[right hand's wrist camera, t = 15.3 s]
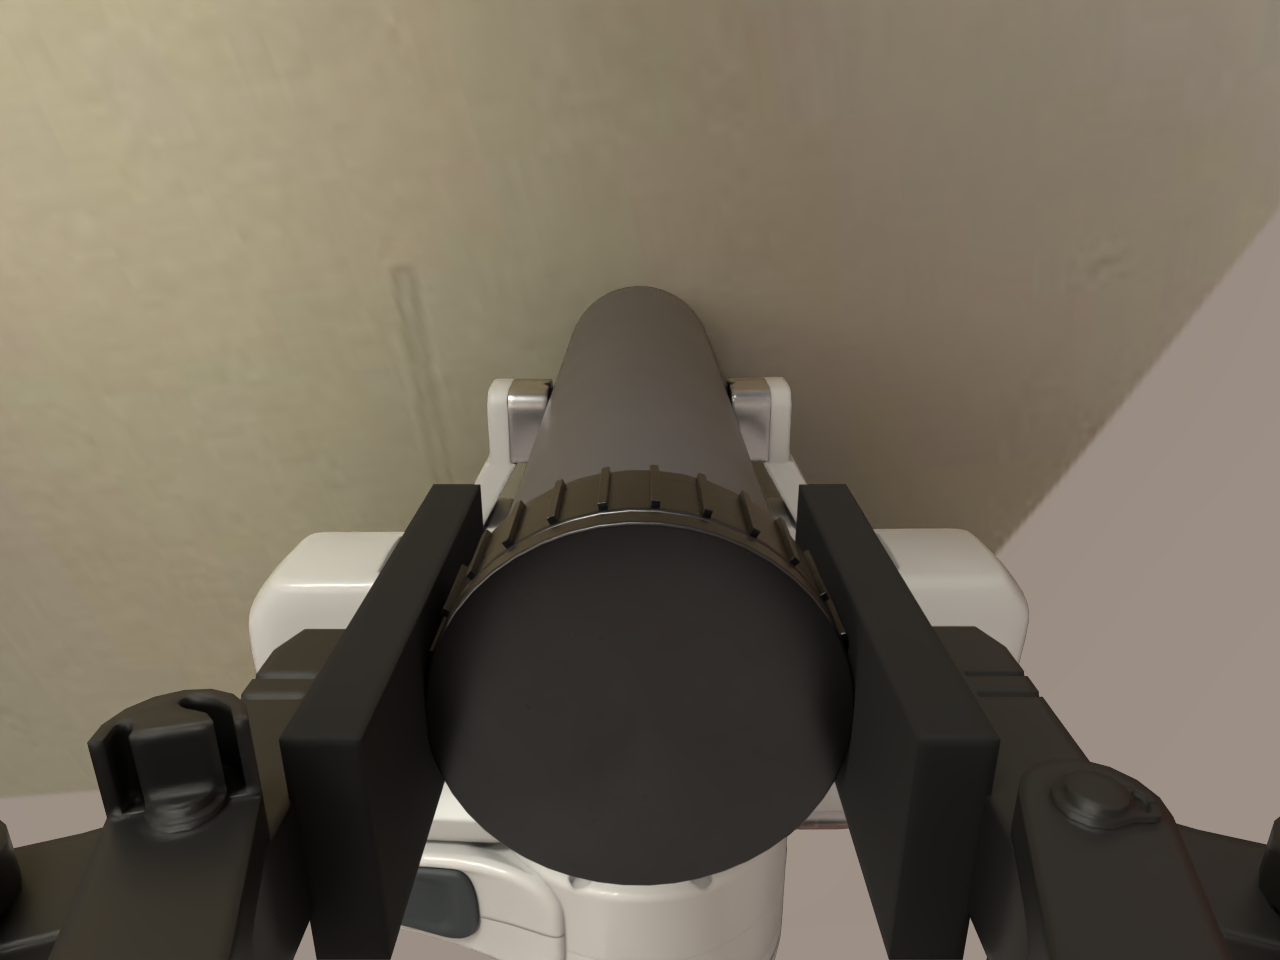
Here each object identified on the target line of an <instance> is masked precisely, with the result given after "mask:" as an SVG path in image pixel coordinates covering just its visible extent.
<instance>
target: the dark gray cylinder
mask: <svg viewBox="0 0 1280 960" xmlns="http://www.w3.org/2000/svg"><path fill="white" fill-rule="evenodd" d="M650 465H658V466H659V471H664V472H671V473H678V474H684V475H688V476H692V477H695V478H696V477H697V474H698V473H702V474H705V475H706V478H707V481H709V482H712V483H714V484H717V485H719V486H722V487H724V488H726V489H729V490H731V491H733V492H735V493H737V494H740V493H741V491H742V490H743V491H745V492H747V493H749V495H750V499H751V502H752V503H754V504H756V505H757V506H758V507H759V508H761V509H762V510H763V511H765V512H766V513H767V514H769V515H770V513H769V510H768V507H767V504H766V502H765V499H764V496H763V493H762V490H761V487H760V485H759V482H758V479H757V476H756V473H755V471H754V468H753V465H752V462H751V459H750V456H749V454H748V451H747V448H746V445H745V442H744V439H743V437H742V434H741V431H740V428H739V425H738V423H737V420H736V417H735V414H734V411H733V408H732V406H731V403H730V400H729V397H728V394H727V391H726V389H725V386H724V383H723V380H722V377H721V375H720V372H719V369H718V366H717V363H716V360H715V358H714V355H713V352H712V349H711V346H710V343H709V341H708V338H707V335H706V332H705V330H704V327H703V325H702V323H701V321H700V320H699V318H698V317H697V315H696V314H695V313H694V311H693V310H692V309H691V308H690V307H689V306H688V305H687V304H686V303H684V302H683V301H682V300H681V299H679V298H677V297H676V296H674V295H673V294H670V293H668V292H666V291H663V290H660V289H657V288H652V287H641V286H635V287H627V288H623V289H619V290H616V291H613V292H611V293H608V294H607V295H605V296H603V297H601V298H600V299H598V300H597V301H596V302H594V303H593V304H592V305H591V306H590V307H589V308H588V309H587V310H586V311H585V313H584V314H583V315H582V316H581V318H580V320H579V321H578V323H577V325H576V327H575V329H574V332H573V334H572V337H571V340H570V343H569V346H568V348H567V351H566V354H565V357H564V360H563V363H562V365H561V368H560V371H559V374H558V377H557V380H556V382H555V385H554V388H553V391H552V394H551V397H550V400H549V402H548V405H547V408H546V411H545V414H544V417H543V419H542V422H541V425H540V428H539V431H538V434H537V436H536V439H535V442H534V445H533V448H532V451H531V453H530V456H529V459H528V462H527V465H526V468H525V470H524V473H523V476H522V479H521V482H520V485H519V487H518V490H517V493H516V496H515V499H514V502H513V504H512V507H511V510H510V513H509V515H510V514H512V511H513V508H514V505H515V504H516V503H517V502H518V501H520V500H522V502H523V503H524V504H526V503H527V502H529V501H530V500H532V499H533V498H535V497H537V496H539V495H541V494H543V493H545V492H547V491H549V490H551V489H552V488H554V485H555V481H557V480H560V479H563V480H564V482H565V483H568V482H571V481H574V480H576V479H579V478H584V477H588V476H592V475H597V474H601V468H604V467H610V471H611V472H616V471H625V470H650Z"/></svg>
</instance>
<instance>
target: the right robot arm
mask: <svg viewBox="0 0 1280 960" xmlns="http://www.w3.org/2000/svg"><path fill="white" fill-rule="evenodd" d="M483 533H484V529H483V514H482V500H481V485H480V484H433V486H432V488H431V489H430V491H429V493H428V494H427V496H426V498H425V499H424V501H423V503H422V504H421V506H420V508H419V509H418V511H417V512H416V514H415V516H414V517H413V519H412V521H411V522H410V524H409V526H408V527H407V529H406V531H405V532H404V534H403V536H402V537H401V539H400V540H399V542H398V544H397V545H396V547H395V549H394V550H393V552H392V554H391V555H390V557H389V559H388V560H387V562H386V564H385V565H384V567H383V568H382V570H381V572H380V573H379V575H378V577H377V578H376V580H375V582H374V583H373V585H372V587H371V588H370V590H369V592H368V593H367V595H366V597H365V598H364V600H363V601H362V603H361V605H360V606H359V608H358V610H357V611H356V613H355V615H354V616H353V618H352V620H351V621H350V623H349V625H348V626H347V628H346V629H304V630H302V631H301V632H299V633H298V634H296V635H295V636H294V637H292V638H291V639H289V640H288V641H286V642H285V643H283V644H282V645H280V646H279V647H277V648H276V649H274V650H273V652H272V653H271V654H270V656H269V657H268V658H267V660H266V661H265V663H264V664H263V665H262V667H261V668H260V670H259V671H258V672H257V674H256V679H252V681H251V682H250V683H249V685H248V686H247V687H246V689H245V690H244V692H243V693H242V694H241V700H240V699H239V698H238V697H236V696H235V695H234V694H231V693H227V692H222V691H218V690H214V689H199V690H182V691H178V692H174V693H169V694H165V695H160V696H156V697H153V698H151V699H148V700H146V701H143V702H141V703H139V704H136V705H134V706H131V707H129V708H127V709H125V710H123V711H122V712H120V713H119V714H117V715H116V716H114V717H113V718H111V719H110V720H108V721H107V722H105V723H104V724H103V725H101V727H100V728H99V729H98V730H97V731H96V733H95V734H94V735H93V736H92V738H91V739H90V740H89V741H88V742H87V744H88V748H89V752H90V755H91V759H92V763H93V767H94V770H95V774H96V778H97V782H98V785H99V789H100V793H101V797H102V800H103V804H104V808H105V812H106V816H107V819H106V822H105V824H104V826H103V828H99V829H96V830H92V831H89V832H85V833H82V834H77V835H73V836H68V837H64V838H59V839H54V840H50V841H45V842H41V843H36V844H32V845H27V846H23V847H18V848H13V845H12V842H11V839H10V836H9V833H8V830H7V826H6V824H4V823H3V822H2V821H1V820H0V960H293V959H294V956H295V954H296V951H297V949H298V947H299V944H300V942H301V940H302V937H303V935H304V932H305V930H306V928H307V926H308V923H309V921H310V923H311V929H312V935H313V941H314V946H315V952H316V958H317V960H390V959H391V956H392V953H393V950H394V946H395V943H396V940H397V936H398V933H399V930H400V927H401V923H402V920H403V917H404V914H405V910H406V907H407V904H408V901H409V897H410V894H411V891H412V887H413V884H414V881H415V878H416V874H417V871H418V868H419V865H420V861H421V858H422V855H423V851H424V848H425V845H426V842H427V838H428V835H429V832H430V829H431V825H432V822H433V819H434V815H435V812H436V809H437V806H438V802H439V799H440V796H441V793H442V789H443V786H444V783H445V780H444V779H443V777H442V775H441V773H440V771H439V769H438V766H437V764H436V761H435V759H434V756H433V754H432V751H431V747H430V743H429V738H428V731H427V721H426V711H425V681H426V675H427V671H428V667H429V663H430V658H431V656H430V649H431V646H432V644H433V641H434V639H435V637H436V634H437V632H438V629H439V627H440V625H441V622H442V620H443V617H444V616H442V615H441V612H442V609H443V607H444V605H445V602H446V600H447V598H448V595H449V593H450V590H451V588H452V586H453V583H454V581H455V579H456V576H457V574H458V572H459V569H460V567H461V565H462V564H463V565H465V566H467V567H468V565H469V564H470V562H471V560H472V558H473V556H474V553H475V551H476V548H477V546H478V543H479V541H480V538H481V536H482V534H483ZM795 542H796V543H797V545H798V546H799V547H800V549H801V550H802V551H803V552H804V551H806V550H809V551H810V552H811V554H812V556H813V558H814V561H815V563H816V565H817V568H818V570H819V573H820V575H821V577H822V580H823V582H824V584H825V587H827V588H828V591H829V593H830V595H831V598H832V600H833V602H834V605H835V607H836V609H837V612H838V614H839V617H840V619H841V621H842V624H843V626H844V628H845V631H846V633H847V636H848V640H845V641H843V643H844V646H845V649H846V651H847V654H848V657H849V660H850V663H851V669H852V674H853V679H854V684H855V703H854V714H853V724H852V734H851V740H850V744H849V748H848V751H847V755H846V758H845V760H844V762H843V765H842V767H841V769H840V771H839V773H838V776H837V778H836V780H835V784H836V788H837V791H838V794H839V798H840V801H841V804H842V807H843V811H844V814H845V817H846V820H847V824H848V827H849V830H850V834H851V837H852V840H853V843H854V846H855V850H856V853H857V856H858V859H859V863H860V866H861V870H862V873H863V876H864V879H865V883H866V886H867V889H868V892H869V896H870V899H871V902H872V906H873V909H874V912H875V915H876V918H877V922H878V925H879V928H880V932H881V935H882V938H883V941H884V945H885V948H886V951H887V954H888V958H889V960H963V955H964V949H965V943H966V937H967V932H968V926H969V920H970V918H971V920H972V922H973V925H974V927H975V930H976V932H977V934H978V937H979V939H980V941H981V944H982V946H983V948H984V951H985V953H986V955H987V960H1280V817H1279V818H1278V819H1276V820H1275V821H1274V824H1273V827H1272V830H1271V834H1270V837H1269V840H1268V843H1267V845H1266V844H1261V843H1256V842H1252V841H1247V840H1243V839H1238V838H1234V837H1229V836H1224V835H1220V834H1215V833H1211V832H1206V831H1201V830H1197V829H1194V828H1190V827H1187V826H1183V825H1180V824H1176V822H1175V820H1174V818H1173V816H1172V814H1171V813H1170V812H1169V810H1168V809H1167V807H1166V806H1165V804H1164V803H1163V802H1162V800H1161V799H1160V797H1158V796H1157V795H1156V794H1154V793H1153V792H1152V791H1151V790H1149V789H1148V788H1147V787H1145V786H1144V785H1143V784H1142V783H1140V782H1139V781H1138V780H1136V779H1134V778H1132V777H1130V776H1128V775H1125V774H1123V773H1121V772H1119V771H1117V770H1115V769H1113V768H1111V767H1108V766H1104V765H1100V764H1096V763H1093V762H1090V761H1089V760H1088V759H1087V757H1086V756H1085V754H1084V753H1083V752H1082V750H1081V749H1080V748H1079V746H1078V745H1077V743H1076V742H1075V741H1074V739H1073V738H1072V737H1071V735H1070V734H1069V732H1068V731H1067V730H1066V728H1065V727H1064V726H1063V724H1062V723H1061V721H1060V720H1059V719H1058V717H1057V716H1056V715H1055V713H1054V712H1053V711H1052V709H1051V708H1050V706H1049V705H1048V704H1047V702H1046V701H1045V700H1044V698H1043V697H1039V691H1038V690H1037V689H1036V687H1035V686H1034V684H1033V683H1032V682H1031V680H1030V679H1029V678H1028V676H1024V671H1023V669H1022V668H1021V667H1020V665H1019V664H1018V663H1017V661H1016V660H1015V658H1014V657H1013V656H1012V654H1011V653H1010V652H1009V650H1008V649H1007V647H1005V646H1004V645H1002V644H1001V643H999V642H998V641H996V640H995V639H993V638H992V637H991V636H989V635H988V634H986V633H985V632H983V631H982V630H980V629H979V628H977V627H976V626H932V625H931V624H930V622H929V621H928V619H927V617H926V616H925V614H924V612H923V611H922V609H921V607H920V606H919V604H918V602H917V601H916V599H915V597H914V596H913V594H912V593H911V591H910V589H909V588H908V586H907V584H906V583H905V581H904V579H903V578H902V576H901V574H900V573H899V571H898V569H897V568H896V566H895V565H894V563H893V561H892V560H891V558H890V556H889V555H888V553H887V551H886V550H885V548H884V546H883V545H882V543H881V541H880V540H879V538H878V536H877V535H876V533H875V532H874V530H873V528H872V527H871V525H870V523H869V522H868V520H867V518H866V517H865V515H864V513H863V512H862V510H861V508H860V507H859V505H858V504H857V502H856V500H855V499H854V497H853V495H852V494H851V492H850V490H849V489H848V487H847V485H846V484H799V491H798V506H797V521H796V535H795Z"/></svg>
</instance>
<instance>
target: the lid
mask: <svg viewBox="0 0 1280 960" xmlns="http://www.w3.org/2000/svg"><path fill="white" fill-rule="evenodd" d="M441 615H442V616H444V617H443V620H442V622H441V625H440V627H439V629H438V632H437V634H436V637H435V639H434V641H433V644H432V646H431V649H430V656H431V658H430V663H429V667H428V671H427V675H426V681H425V711H426V721H427V731H428V738H429V743H430V747H431V751H432V754H433V756H434V759H435V761H436V764H437V766H438V769H439V771H440V773H441V775H442V777H443V779H444V780H445V782H446V784H447V786H448V787H449V789H450V791H451V793H452V794H453V795H454V797H455V798H456V799H457V801H458V802H459V803H460V804H461V806H462V807H463V808H464V810H465V811H466V812H467V813H468V814H469V815H470V816H471V817H472V818H473V819H474V820H475V821H476V822H477V823H478V824H479V825H480V826H481V827H482V828H483V829H484V830H485V831H486V832H487V833H489V834H490V835H491V836H493V837H494V838H495V839H496V840H498V841H499V842H500V843H502V844H503V845H504V846H506V847H508V848H509V849H511V850H513V851H514V852H516V853H518V854H519V855H521V856H523V857H524V858H526V859H528V860H530V861H533V862H535V863H537V864H539V865H541V866H543V867H546V868H548V869H551V870H554V871H557V872H560V873H563V874H566V875H569V876H572V877H576V878H580V879H585V880H589V881H594V882H599V883H607V884H616V885H636V886H651V885H662V884H674V883H680V882H685V881H690V880H695V879H700V878H704V877H707V876H710V875H713V874H717V873H720V872H723V871H726V870H728V869H731V868H733V867H736V866H738V865H740V864H743V863H745V862H747V861H749V860H751V859H753V858H755V857H756V856H758V855H760V854H762V853H763V852H765V851H767V850H769V849H770V848H772V847H773V846H775V845H776V844H777V843H779V842H780V841H781V840H783V839H784V838H786V837H787V836H788V835H790V834H791V833H792V832H793V831H794V830H795V829H796V828H797V827H798V826H799V825H801V824H802V823H803V822H804V821H805V820H806V819H807V818H808V817H809V816H810V815H811V813H812V812H813V811H814V810H815V809H816V807H817V806H818V805H819V804H820V803H821V801H822V800H823V799H824V797H825V796H826V794H827V793H828V791H829V789H830V788H831V786H832V785H833V783H834V781H835V780H836V778H837V776H838V773H839V771H840V769H841V767H842V765H843V762H844V760H845V758H846V755H847V751H848V748H849V744H850V740H851V734H852V724H853V714H854V703H855V684H854V679H853V674H852V669H851V663H850V660H849V657H848V654H847V651H846V649H845V646H844V643H843V641H845V640H848V636H847V633H846V631H845V628H844V626H843V624H842V621H841V619H840V617H839V614H838V612H837V609H836V607H835V605H834V602H833V600H832V598H831V595H830V593H829V591H828V588H827V587H825V584H824V582H823V580H822V577H821V575H820V573H819V570H818V568H817V565H816V563H815V561H814V558H813V556H812V554H811V552H810V551H809V550H806V551H804V552H803V551H802V550H801V549H800V547H799V546H798V545H797V543H796V542H795V541H794V539H793V538H792V537H791V535H790V533H789V530H788V528H787V525H786V522H785V521H784V520H783V519H782V518H781V517H778V518H777V519H776V520H775V519H774V518H772V517H771V516H770V515H769V514H767V513H766V512H765V511H763V510H762V509H761V508H759V507H758V506H757V505H756V504H754V503H752V502H751V499H750V495H749V493H747V492H745V491H743V490H742V491H741V493H740V494H737V493H735V492H733V491H731V490H729V489H726V488H724V487H722V486H719V485H717V484H714V483H712V482H709V481H707V478H706V475H705V474H702V473H698V474H697V477H696V478H695V477H692V476H688V475H684V474H678V473H671V472H664V471H659V466H658V465H650V470H625V471H616V472H611V471H610V467H604V468H601V474H597V475H592V476H588V477H584V478H579V479H576V480H574V481H571V482H568V483H565V482H564V480H563V479H560V480H557V481H555V485H554V488H552V489H551V490H549V491H547V492H545V493H543V494H541V495H539V496H537V497H535V498H533V499H532V500H530V501H529V502H527V503H526V504H524V503H523V502H522V500H520V501H518V502H517V503H516V504H515V505H514V508H513V511H512V514H510V515H509V516H508V517H507V518H506V519H505V520H504V521H503V522H502V523H501V524H500V525H499V526H498V527H496V528H495V529H494V530H493V531H492V533H491V532H490V531H489V530H487V529H486V530H485V532H484V533H483V534H482V536H481V538H480V541H479V543H478V546H477V548H476V551H475V553H474V556H473V558H472V560H471V562H470V564H469V565H468V567H467V566H465V565H463V564H462V565H461V567H460V569H459V572H458V574H457V576H456V579H455V581H454V583H453V586H452V588H451V590H450V593H449V595H448V598H447V600H446V602H445V605H444V607H443V609H442V612H441Z"/></svg>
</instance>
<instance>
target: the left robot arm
mask: <svg viewBox="0 0 1280 960" xmlns="http://www.w3.org/2000/svg"><path fill="white" fill-rule="evenodd" d="M725 389H726V391H727V394H728V397H729V400H730V403H731V406H732V408H733V411H734V414H735V417H736V420H737V423H738V425H739V428H740V431H741V434H742V437H743V439H744V442H745V445H746V448H747V451H748V454H749V456H750V459H751V461H762V462H763V465H764V466H765V468H766V470H767V472H768V473H769V475H770V477H771V479H772V481H773V482H774V484H775V486H776V488H777V490H778V491H779V493H780V495H781V497H782V498H783V499H782V498H781V497H768V498H767V499H765V502H766V504H767V507H768V510H769V513H770V516H771V517H772V518H774V519H775V520H776V519H777V518H778V517H781V518H782V519H783V520H784V521H785V522H786V525H787V528H788V530H789V533H790V535H791V537H792V538H793V539H794V541H795V535H796V521H797V506H798V491H799V484H807V482H806V480H805V479H804V477H803V475H802V473H801V471H800V470H799V468H798V466H797V464H796V462H795V460H794V459H793V457H792V455H791V453H790V451H789V447H790V428H791V410H792V401H791V391H790V387H789V385H788V384H787V382H786V380H785V379H784V377H741V378H727V380H726V388H725ZM552 391H553V382H552V379H514V378H509V379H495V380H494V382H493V383H492V385H491V387H490V388H489V391H488V403H487V414H488V429H489V443H490V454H489V456H488V458H487V460H486V462H485V464H484V466H483V468H482V470H481V471H480V473H479V475H478V477H477V479H476V481H475V483H474V484H480V485H481V500H482V514H483V529H484V532H485V530H486V529H487V530H489V531H490V532H491V533H492V531H493V530H494V529H495V528H496V527H498V526H499V525H500V524H501V523H502V522H503V521H504V520H505V519H506V518H507V517H508V516H509V513H510V510H511V507H512V504H513V502H514V500H513V499H499V500H498V498H499V496H500V494H501V492H502V490H503V489H504V487H505V485H506V483H507V481H508V479H509V477H510V476H511V474H512V472H513V470H514V468H515V466H516V464H517V463H527V462H528V459H529V456H530V453H531V451H532V448H533V445H534V442H535V439H536V436H537V434H538V431H539V428H540V425H541V422H542V419H543V417H544V414H545V411H546V408H547V405H548V402H549V400H550V397H551V394H552ZM497 500H498V501H497ZM873 530H874V532H875V533H876V535H877V536H878V538H879V540H880V541H881V543H882V545H883V546H884V548H885V550H886V551H887V553H888V555H889V556H890V558H891V560H892V561H893V563H894V565H895V566H896V568H897V569H898V571H899V573H900V574H901V576H902V578H903V579H904V581H905V583H906V584H907V586H908V588H909V589H910V591H911V593H912V594H913V596H914V597H915V599H916V601H917V602H918V604H919V606H920V607H921V609H922V611H923V612H924V614H925V616H926V617H927V619H928V621H929V622H930V624H931V625H932V626H976V627H977V628H979V629H980V630H982V631H983V632H985V633H986V634H988V635H989V636H991V637H992V638H993V639H995V640H996V641H998V642H999V643H1001V644H1002V645H1004V646H1005V647H1007V649H1008V650H1009V652H1010V653H1011V654H1012V656H1013V657H1014V658H1015V660H1016V661H1017V663H1018V664H1019V661H1020V658H1021V654H1022V650H1023V645H1024V641H1025V637H1026V632H1027V627H1028V620H1029V610H1028V604H1027V601H1026V599H1025V596H1024V594H1023V592H1022V590H1021V589H1020V587H1019V586H1018V584H1017V582H1016V581H1015V579H1014V578H1013V577H1012V575H1011V574H1010V573H1009V571H1008V570H1007V569H1006V567H1005V566H1004V565H1003V564H1002V562H1001V561H1000V560H999V559H998V558H997V557H996V556H995V555H994V554H993V553H992V552H991V551H990V550H989V549H988V548H987V547H986V546H985V545H984V544H983V543H982V542H981V541H980V540H979V539H978V538H977V537H976V536H975V535H973V534H972V533H970V532H968V531H966V530H963V529H953V528H932V529H873ZM403 534H404V532H320V533H314V534H311V535H309V536H308V537H306V538H305V539H303V540H302V541H301V542H300V543H299V544H298V545H297V546H296V547H295V548H294V549H293V550H292V551H291V552H290V553H289V554H288V555H287V556H286V557H285V558H284V560H283V561H282V562H281V563H280V564H279V565H278V566H277V567H276V568H275V570H274V571H273V572H272V574H271V575H270V576H269V577H268V579H267V580H266V582H265V583H264V584H263V586H262V587H261V589H260V590H259V592H258V594H257V596H256V597H255V599H254V602H253V604H252V607H251V610H250V615H249V635H250V643H251V649H252V654H253V659H254V664H255V669H256V674H257V672H258V671H259V670H260V668H261V667H262V665H263V664H264V663H265V661H266V660H267V658H268V657H269V656H270V654H271V653H272V652H273V650H274V649H276V648H277V647H279V646H280V645H282V644H283V643H285V642H286V641H288V640H289V639H291V638H292V637H294V636H295V635H296V634H298V633H299V632H301V631H302V630H304V629H346V628H347V626H348V625H349V623H350V621H351V620H352V618H353V616H354V615H355V613H356V611H357V610H358V608H359V606H360V605H361V603H362V601H363V600H364V598H365V597H366V595H367V593H368V592H369V590H370V588H371V587H372V585H373V583H374V582H375V580H376V578H377V577H378V575H379V573H380V572H381V570H382V568H383V567H384V565H385V564H386V562H387V560H388V559H389V557H390V555H391V554H392V552H393V550H394V549H395V547H396V545H397V544H398V542H399V540H400V539H401V537H402V536H403ZM846 828H849V827H848V824H847V820H846V817H845V814H844V811H843V807H842V804H841V801H840V798H839V794H838V791H837V788H836V784H835V781H834V783H833V785H832V786H831V788H830V789H829V791H828V793H827V794H826V796H825V797H824V799H823V800H822V801H821V803H820V804H819V805H818V806H817V807H816V809H815V810H814V811H813V812H812V813H811V815H810V816H809V817H808V818H807V819H806V820H805V821H804V822H803V823H802V824H801V825H799V826H798V827H797V828H796V829H846ZM786 853H787V837H786V838H784V839H783V840H781V841H780V842H779V843H777V844H776V845H775V846H773V847H772V848H770V849H769V850H767V851H765V852H763V853H762V854H760V855H758V856H756V857H755V858H753V859H751V860H749V861H747V862H745V863H743V864H740V865H738V866H736V867H733V868H731V869H728V870H726V871H723V872H720V873H717V874H713V875H710V876H707V877H704V878H700V879H695V880H690V881H685V882H680V883H674V884H662V885H651V886H636V885H616V884H607V883H599V882H594V881H589V880H585V879H580V878H576V877H572V876H569V875H566V874H563V873H560V872H557V871H554V870H551V869H548V868H546V867H543V866H541V865H539V864H537V863H535V862H533V861H530V860H528V859H526V858H524V857H523V856H521V855H519V854H518V853H516V852H514V851H513V850H511V849H509V848H508V847H506V846H504V845H503V844H502V843H500V842H499V841H498V840H496V839H495V838H494V837H493V836H491V835H490V834H489V833H487V832H486V831H485V830H484V829H483V828H482V827H481V826H480V825H479V824H478V823H477V822H476V821H475V820H474V819H473V818H472V817H471V816H470V815H469V814H468V813H467V812H466V811H465V810H464V808H463V807H462V806H461V804H460V803H459V802H458V801H457V799H456V798H455V797H454V795H453V794H452V793H451V791H450V789H449V787H448V786H447V784H446V782H445V783H444V786H443V789H442V793H441V796H440V799H439V802H438V806H437V809H436V812H435V815H434V819H433V822H432V825H431V829H430V832H429V835H428V838H427V842H426V845H425V848H424V851H423V855H422V858H421V861H420V865H419V868H418V871H417V874H416V878H415V881H414V884H413V887H412V891H411V894H410V897H409V901H408V904H407V907H406V910H405V914H404V917H403V920H402V923H401V927H400V929H403V930H407V931H411V932H415V933H419V934H423V935H426V936H430V937H433V938H437V939H440V940H444V941H447V942H450V943H453V944H456V945H459V946H462V947H465V948H468V949H471V950H474V951H476V952H479V953H481V954H484V955H487V956H489V957H491V958H494V959H496V960H774V959H775V956H776V952H777V948H778V945H779V940H780V934H781V924H782V910H783V894H784V879H785V864H786Z"/></svg>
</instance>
